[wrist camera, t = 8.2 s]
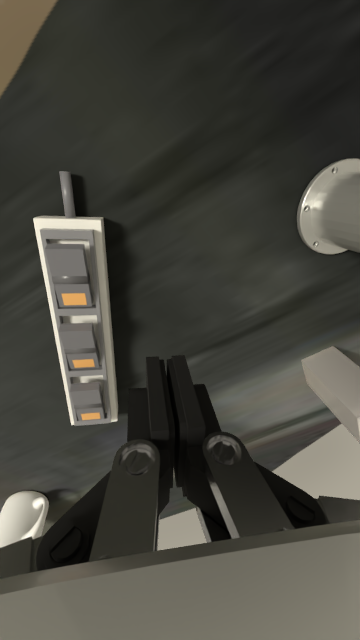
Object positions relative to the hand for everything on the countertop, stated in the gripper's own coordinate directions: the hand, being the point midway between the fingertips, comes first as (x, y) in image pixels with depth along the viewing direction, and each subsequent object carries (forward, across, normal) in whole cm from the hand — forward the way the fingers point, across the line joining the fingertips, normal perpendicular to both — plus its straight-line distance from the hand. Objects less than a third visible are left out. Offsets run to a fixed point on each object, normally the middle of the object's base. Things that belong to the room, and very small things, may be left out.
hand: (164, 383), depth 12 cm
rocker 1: (+24, +9, +2) cm, 26 cm away
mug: (+29, +24, +52) cm, 64 cm away
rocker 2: (+24, +9, +12) cm, 29 cm away
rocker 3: (+24, +9, +22) cm, 34 cm away
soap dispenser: (+29, -34, +23) cm, 50 cm away
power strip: (+29, +9, +10) cm, 32 cm away
